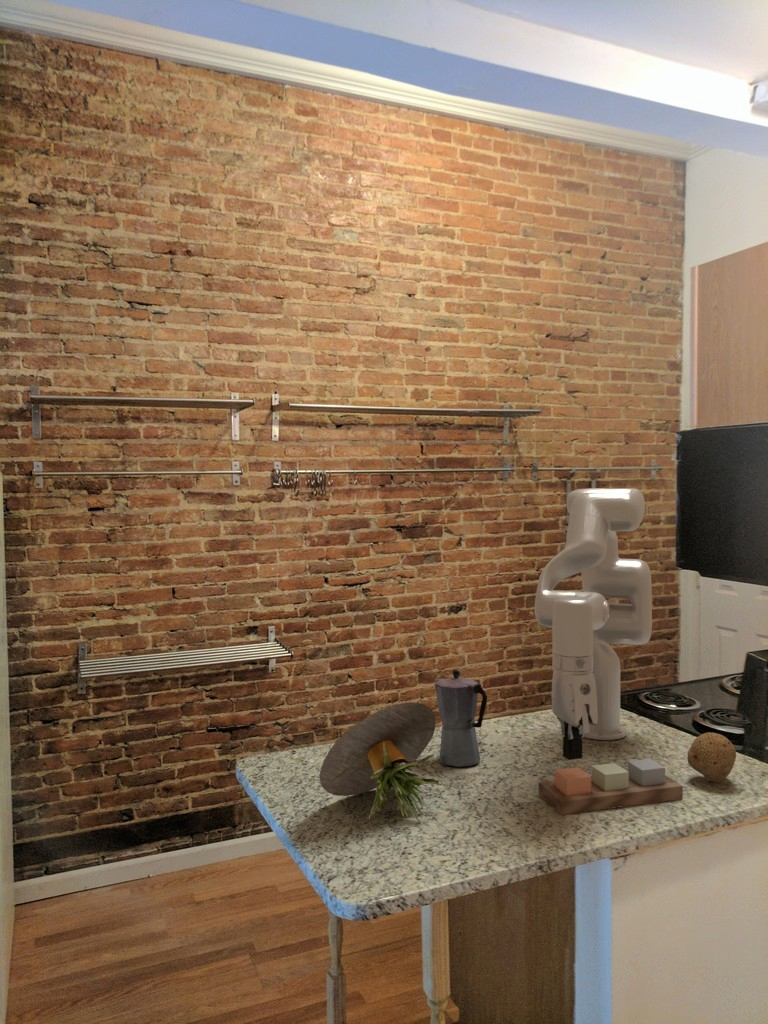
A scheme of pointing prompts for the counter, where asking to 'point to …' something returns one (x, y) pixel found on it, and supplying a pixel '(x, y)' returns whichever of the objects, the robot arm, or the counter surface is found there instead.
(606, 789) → the sage button
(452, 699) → the moka pot
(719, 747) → the natural sponge
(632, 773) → the slate button
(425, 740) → the potted plant
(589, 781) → the terracotta button
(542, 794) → the walnut panel
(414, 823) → the counter surface
